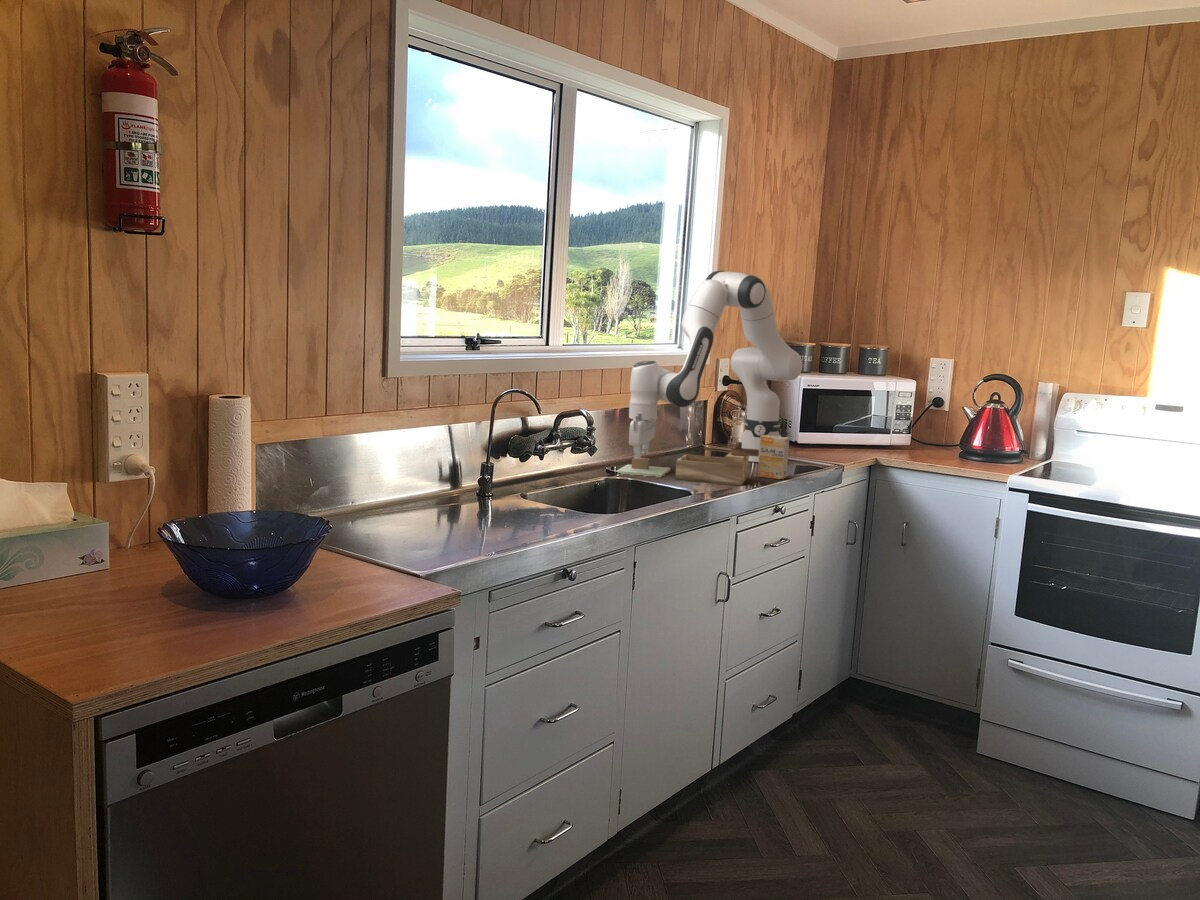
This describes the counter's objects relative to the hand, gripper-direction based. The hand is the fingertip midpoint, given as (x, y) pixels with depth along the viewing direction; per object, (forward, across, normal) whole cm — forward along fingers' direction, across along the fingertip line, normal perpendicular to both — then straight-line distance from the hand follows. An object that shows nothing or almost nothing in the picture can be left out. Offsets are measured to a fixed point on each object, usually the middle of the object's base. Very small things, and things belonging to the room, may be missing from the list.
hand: (641, 456), depth 304 cm
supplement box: (+5, +8, -40) cm, 42 cm away
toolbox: (+5, -4, -23) cm, 24 cm away
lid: (+5, -2, -1) cm, 6 cm away
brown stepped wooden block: (-4, -6, -33) cm, 34 cm away
